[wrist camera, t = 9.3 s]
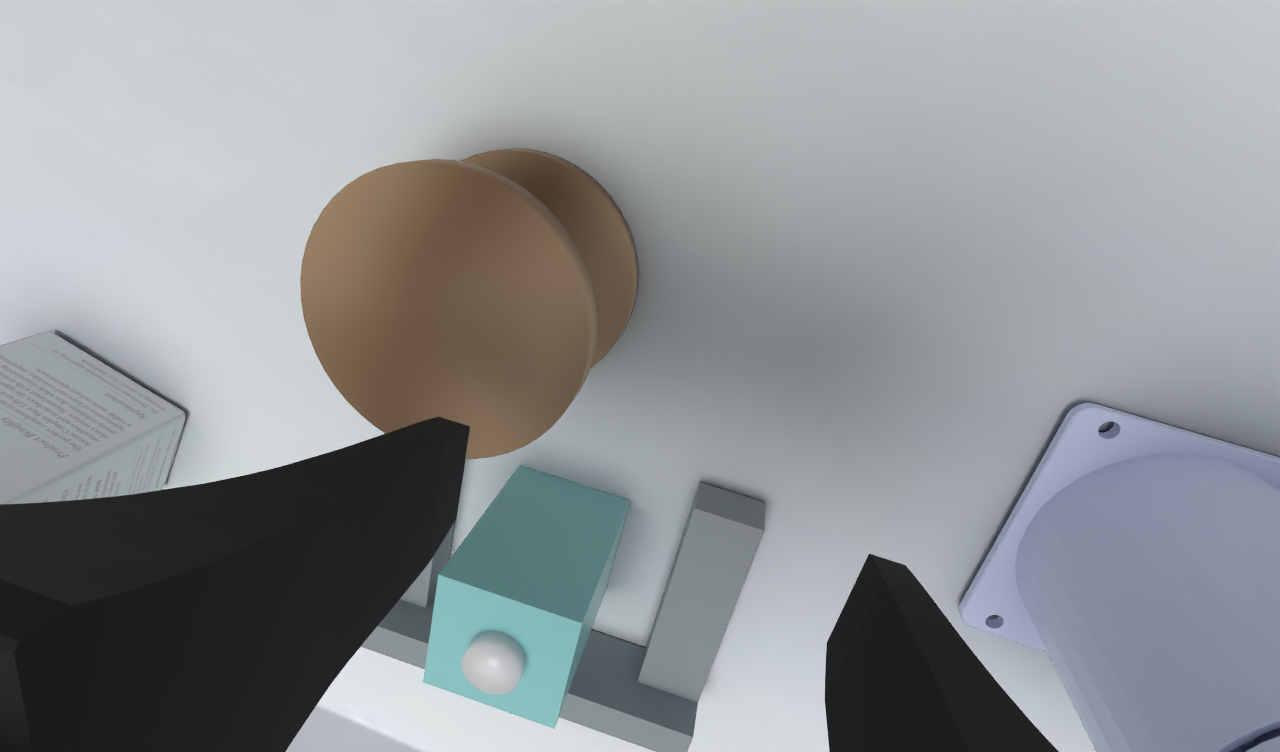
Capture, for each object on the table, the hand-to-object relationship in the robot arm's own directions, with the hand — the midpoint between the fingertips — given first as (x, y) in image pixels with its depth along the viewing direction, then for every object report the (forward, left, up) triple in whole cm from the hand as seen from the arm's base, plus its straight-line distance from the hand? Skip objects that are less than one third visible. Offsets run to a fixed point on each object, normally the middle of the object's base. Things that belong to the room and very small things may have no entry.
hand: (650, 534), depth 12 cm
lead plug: (+3, +8, -10) cm, 13 cm away
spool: (+6, -1, -9) cm, 11 cm away
